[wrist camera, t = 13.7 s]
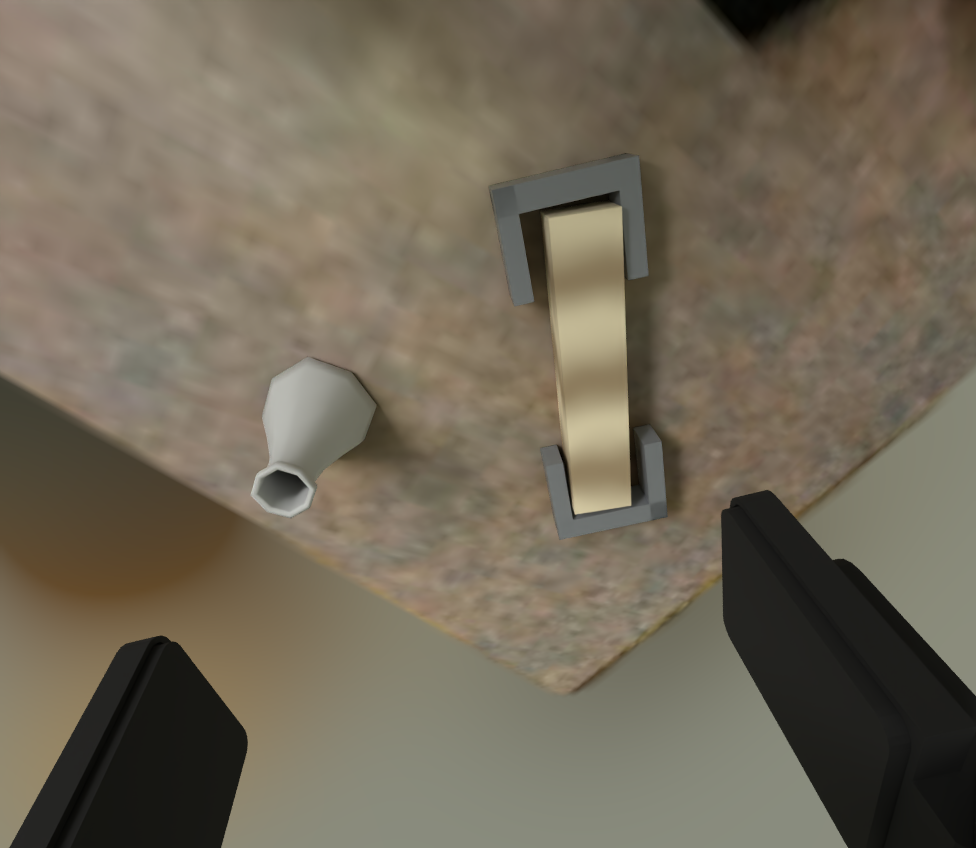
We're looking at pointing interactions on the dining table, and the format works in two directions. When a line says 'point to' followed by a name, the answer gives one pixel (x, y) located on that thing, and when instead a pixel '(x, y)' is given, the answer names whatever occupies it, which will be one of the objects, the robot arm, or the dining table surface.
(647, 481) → the end cap
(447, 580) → the dining table surface
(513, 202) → the end cap
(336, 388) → the flask
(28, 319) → the dining table surface
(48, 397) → the dining table surface
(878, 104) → the dining table surface
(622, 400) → the birch slat
